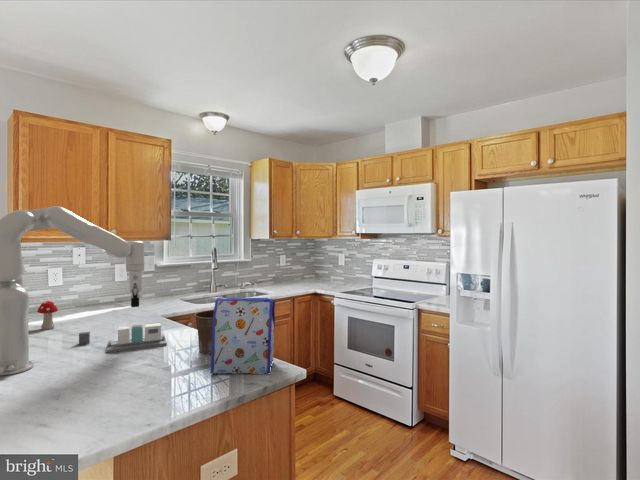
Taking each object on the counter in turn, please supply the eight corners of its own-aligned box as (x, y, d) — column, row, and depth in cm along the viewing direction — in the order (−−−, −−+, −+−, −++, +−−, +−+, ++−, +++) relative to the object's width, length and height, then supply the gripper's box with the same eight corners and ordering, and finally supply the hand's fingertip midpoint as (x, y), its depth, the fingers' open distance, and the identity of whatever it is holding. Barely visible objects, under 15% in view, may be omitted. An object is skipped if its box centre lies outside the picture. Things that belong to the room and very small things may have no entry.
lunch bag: (276, 360, 148) (276, 293, 148) (273, 375, 131) (273, 301, 131) (219, 361, 147) (219, 294, 147) (209, 377, 130) (208, 301, 130)
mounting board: (166, 345, 168) (166, 342, 168) (106, 353, 157) (106, 350, 157) (164, 338, 181) (164, 335, 181) (108, 344, 170) (108, 341, 170)
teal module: (142, 341, 167) (142, 326, 167) (131, 342, 165) (131, 327, 165) (142, 338, 172) (142, 324, 172) (131, 339, 170) (131, 325, 170)
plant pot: (240, 348, 164) (240, 312, 164) (213, 358, 150) (213, 319, 150) (214, 342, 172) (214, 308, 172) (186, 352, 158) (186, 314, 158)
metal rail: (164, 340, 172) (164, 336, 172) (108, 346, 162) (108, 342, 162) (164, 338, 176) (164, 334, 176) (108, 344, 165) (108, 340, 165)
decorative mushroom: (33, 329, 197) (33, 301, 197) (49, 326, 205) (49, 299, 205) (46, 331, 194) (46, 303, 193) (62, 327, 202) (62, 300, 202)
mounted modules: (161, 339, 171) (160, 325, 171) (117, 344, 163) (117, 330, 163) (160, 336, 176) (160, 323, 176) (118, 341, 168) (118, 327, 168)
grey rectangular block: (89, 343, 171) (89, 333, 171) (78, 345, 169) (78, 334, 169) (89, 342, 174) (89, 331, 174) (79, 343, 172) (79, 332, 172)
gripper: (144, 269, 162) (144, 307, 163) (143, 266, 178) (143, 301, 178) (125, 269, 159) (125, 309, 159) (126, 266, 175) (126, 302, 175)
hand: (135, 305), depth 169 cm, fingers open, 9 cm apart
